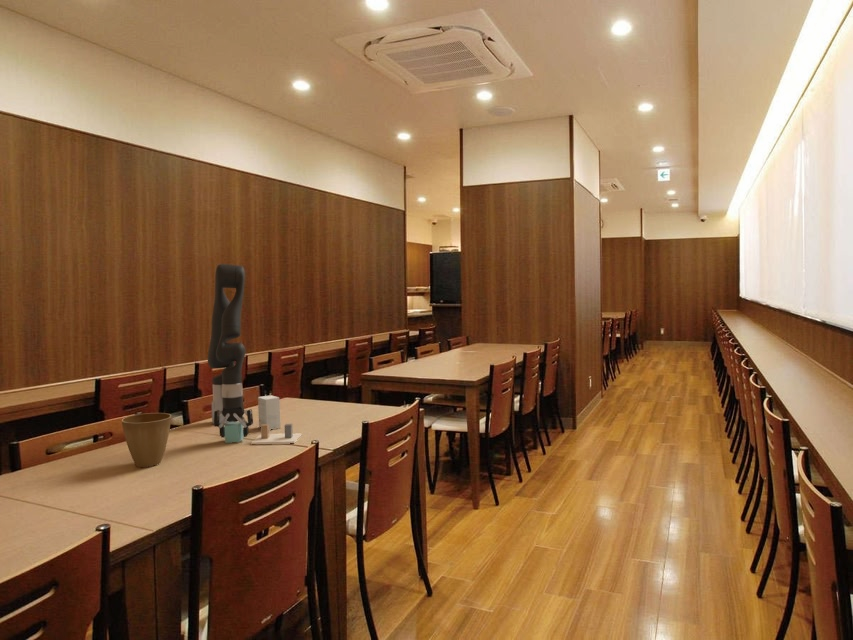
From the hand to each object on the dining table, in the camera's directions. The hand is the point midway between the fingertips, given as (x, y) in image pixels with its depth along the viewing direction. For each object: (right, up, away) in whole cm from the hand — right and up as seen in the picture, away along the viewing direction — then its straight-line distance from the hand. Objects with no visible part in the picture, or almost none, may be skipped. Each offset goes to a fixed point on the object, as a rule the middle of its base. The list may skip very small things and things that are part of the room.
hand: (234, 436), depth 217 cm
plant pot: (-19, -4, -28) cm, 34 cm away
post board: (+17, -1, 0) cm, 17 cm away
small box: (+8, -1, +20) cm, 22 cm away
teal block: (0, -2, 0) cm, 2 cm away
